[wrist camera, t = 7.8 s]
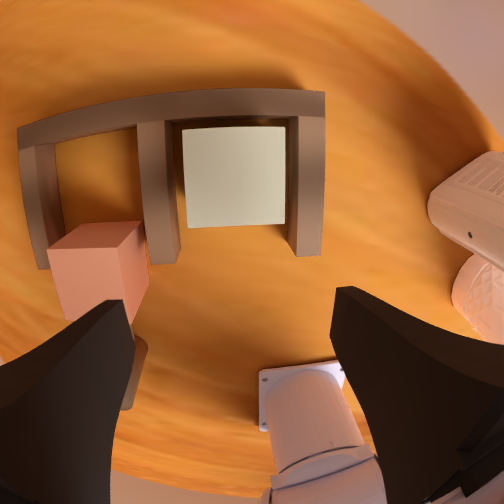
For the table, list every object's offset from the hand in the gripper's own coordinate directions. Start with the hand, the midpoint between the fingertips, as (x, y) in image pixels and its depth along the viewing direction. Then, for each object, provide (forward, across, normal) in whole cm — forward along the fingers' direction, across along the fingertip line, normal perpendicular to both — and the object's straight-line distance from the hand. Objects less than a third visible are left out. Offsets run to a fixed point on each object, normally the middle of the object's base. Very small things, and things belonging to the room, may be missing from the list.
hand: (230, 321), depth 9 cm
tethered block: (+10, +8, +5) cm, 13 cm away
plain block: (+10, 0, -4) cm, 11 cm away
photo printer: (+10, -20, -3) cm, 22 cm away
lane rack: (+10, +4, -4) cm, 11 cm away
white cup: (+10, -24, +6) cm, 27 cm away
